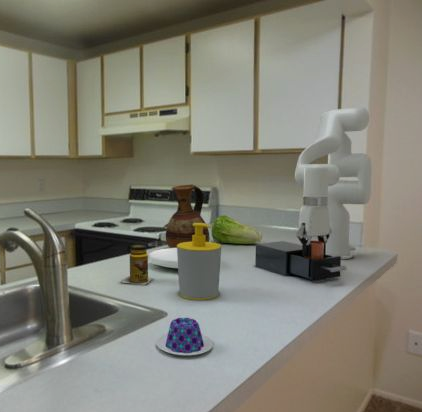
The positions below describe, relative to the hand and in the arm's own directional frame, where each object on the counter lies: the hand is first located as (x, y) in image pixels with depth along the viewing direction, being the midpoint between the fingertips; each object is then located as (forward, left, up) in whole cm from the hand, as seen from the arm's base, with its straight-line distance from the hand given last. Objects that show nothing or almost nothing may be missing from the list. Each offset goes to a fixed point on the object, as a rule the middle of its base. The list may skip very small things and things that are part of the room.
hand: (313, 254), depth 138 cm
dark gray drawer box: (0, -13, -8) cm, 16 cm away
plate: (+30, -35, -8) cm, 47 cm away
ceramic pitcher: (+13, -61, -8) cm, 63 cm away
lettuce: (-16, -62, -8) cm, 65 cm away
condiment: (+55, -23, -8) cm, 60 cm away
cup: (0, 0, -1) cm, 1 cm away
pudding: (+66, +27, -8) cm, 72 cm away
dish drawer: (0, +1, -7) cm, 7 cm away
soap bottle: (+44, -2, -8) cm, 45 cm away
